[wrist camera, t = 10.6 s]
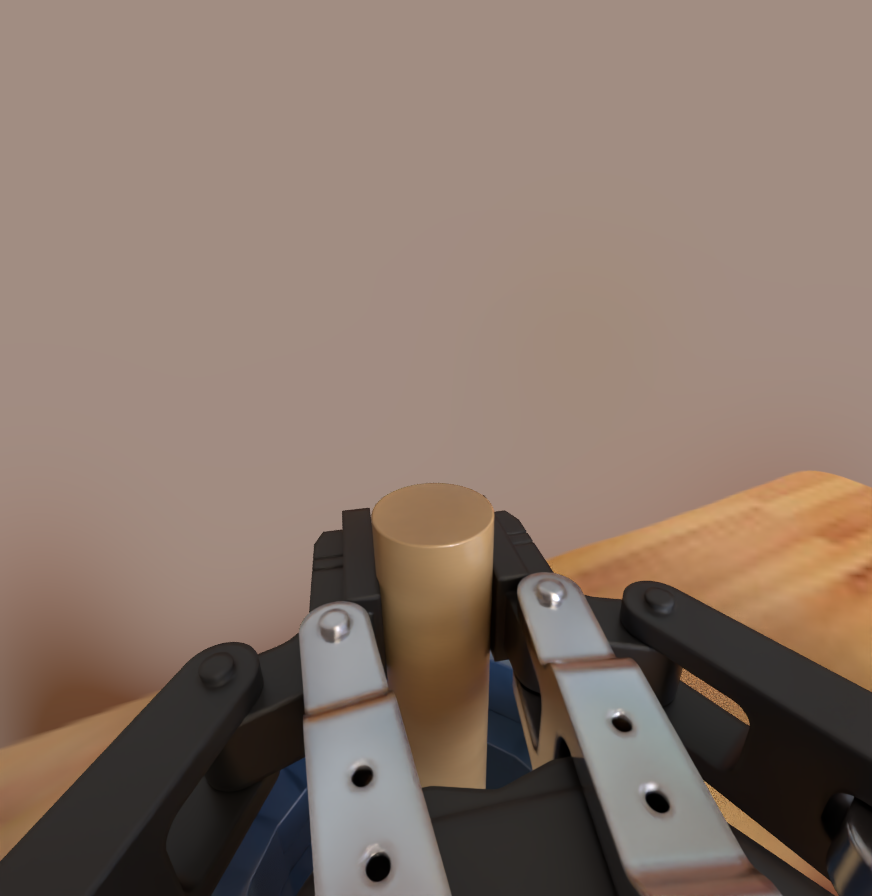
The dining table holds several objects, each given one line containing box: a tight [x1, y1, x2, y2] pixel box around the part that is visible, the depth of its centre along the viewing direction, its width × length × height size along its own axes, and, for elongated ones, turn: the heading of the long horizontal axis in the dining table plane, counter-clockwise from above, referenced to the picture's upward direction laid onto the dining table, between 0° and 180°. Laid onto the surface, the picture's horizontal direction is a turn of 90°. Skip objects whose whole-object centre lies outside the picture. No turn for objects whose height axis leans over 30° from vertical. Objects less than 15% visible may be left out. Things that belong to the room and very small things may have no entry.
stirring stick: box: [371, 483, 495, 789], centre depth 13 cm, size 4×4×16 cm
